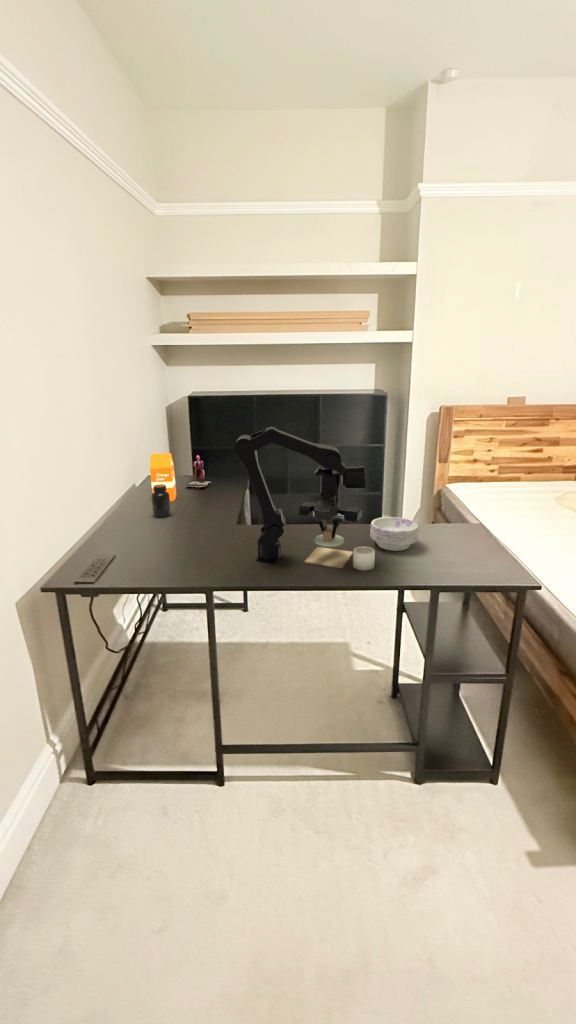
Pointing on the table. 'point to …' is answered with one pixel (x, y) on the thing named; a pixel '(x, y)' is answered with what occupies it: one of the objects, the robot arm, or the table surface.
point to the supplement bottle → (161, 501)
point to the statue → (198, 475)
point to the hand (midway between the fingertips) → (329, 537)
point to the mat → (329, 557)
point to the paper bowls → (394, 533)
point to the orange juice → (163, 472)
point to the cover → (329, 538)
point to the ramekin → (363, 558)
